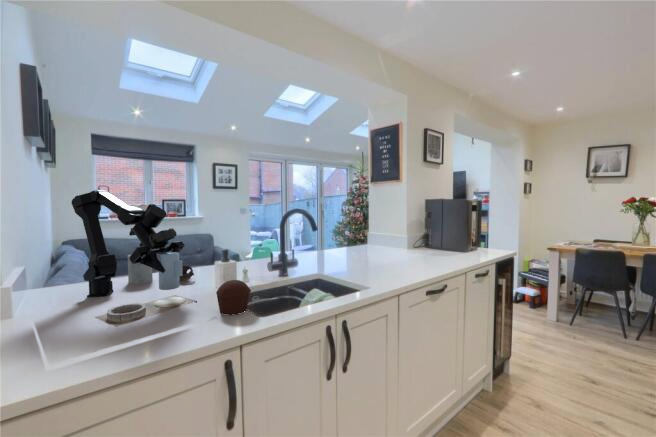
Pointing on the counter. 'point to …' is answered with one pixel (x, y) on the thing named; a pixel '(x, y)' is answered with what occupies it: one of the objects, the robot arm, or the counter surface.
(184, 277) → the pottery mug
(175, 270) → the pale blue cylinder
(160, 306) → the tan flat slab
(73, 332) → the counter surface
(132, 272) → the tall grey pillar block
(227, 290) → the muffin
